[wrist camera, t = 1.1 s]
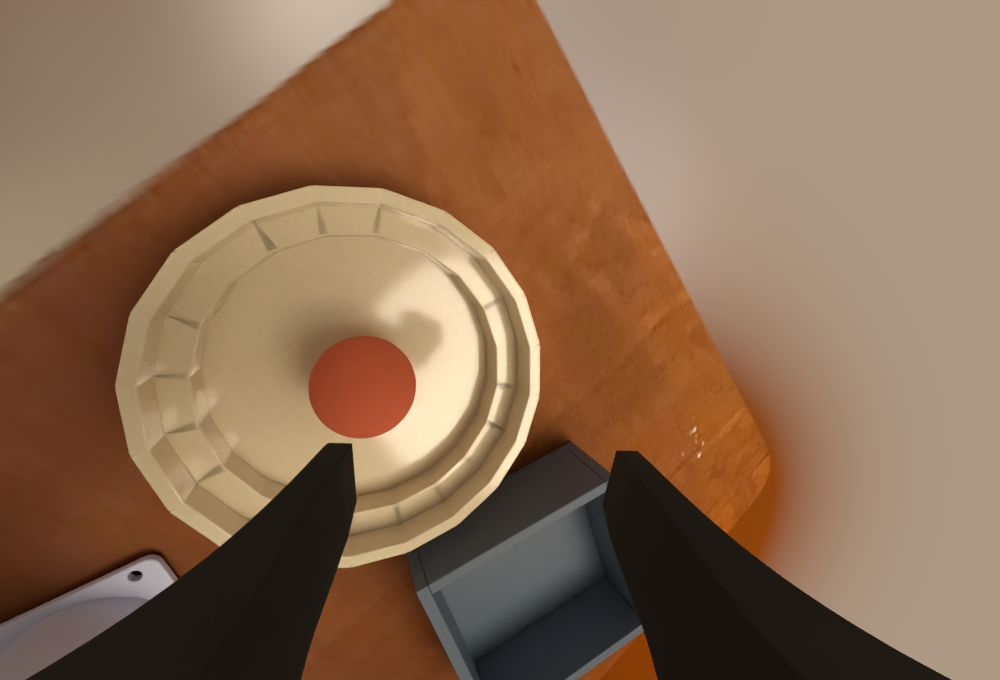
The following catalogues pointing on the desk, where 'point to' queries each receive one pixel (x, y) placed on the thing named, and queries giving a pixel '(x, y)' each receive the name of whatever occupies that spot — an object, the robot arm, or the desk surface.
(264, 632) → the robot arm
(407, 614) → the desk surface
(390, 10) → the desk surface
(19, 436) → the desk surface
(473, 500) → the bowl
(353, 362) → the toy ball
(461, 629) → the bin
